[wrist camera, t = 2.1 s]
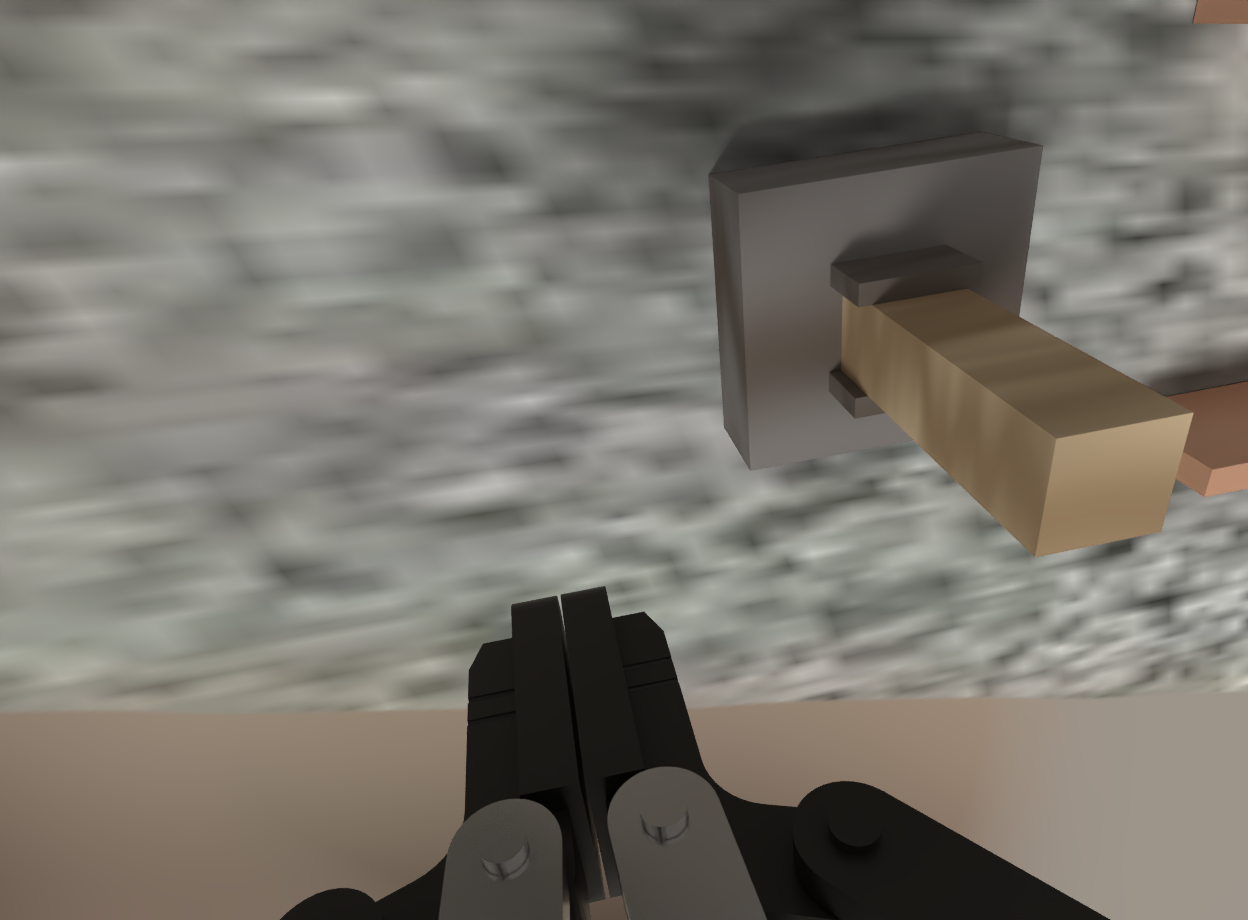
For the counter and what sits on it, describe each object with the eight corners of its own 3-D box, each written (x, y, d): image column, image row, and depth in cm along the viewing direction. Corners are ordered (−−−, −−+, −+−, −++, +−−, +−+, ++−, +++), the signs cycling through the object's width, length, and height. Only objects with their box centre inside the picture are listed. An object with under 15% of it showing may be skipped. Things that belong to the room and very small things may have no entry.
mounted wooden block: (707, 173, 22) (911, 309, 12) (978, 131, 23) (1399, 224, 12) (723, 425, 26) (884, 694, 16) (953, 383, 27) (1254, 614, 16)
